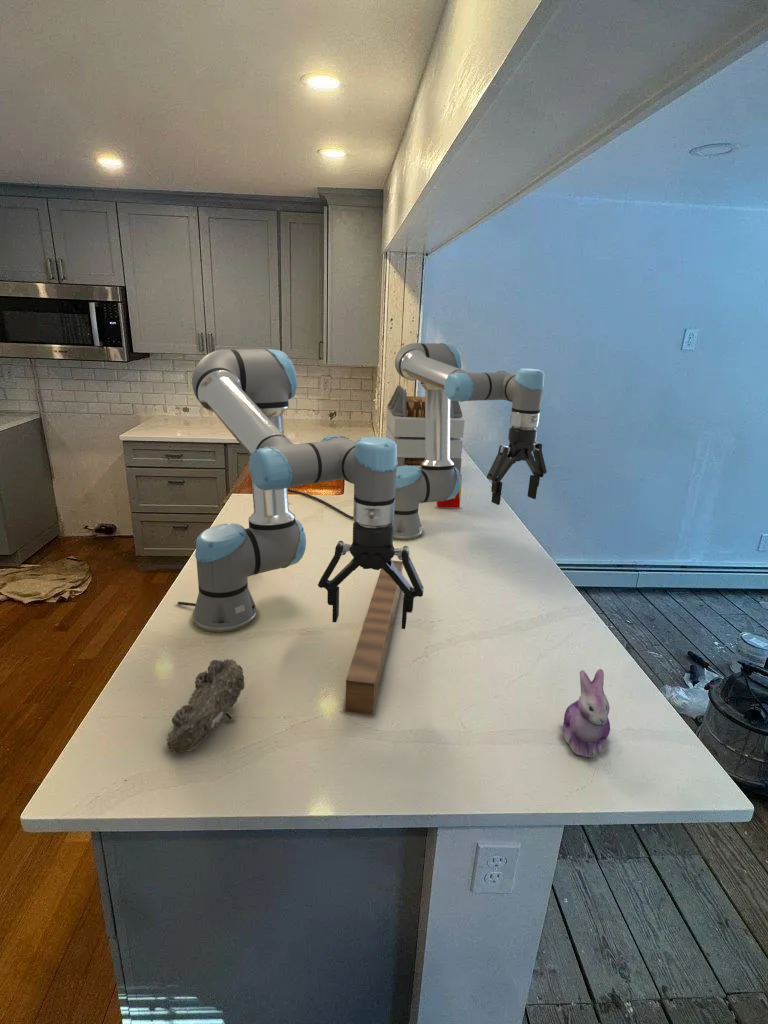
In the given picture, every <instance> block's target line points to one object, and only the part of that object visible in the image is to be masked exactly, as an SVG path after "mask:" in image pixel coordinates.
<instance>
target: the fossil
mask: <svg viewBox="0 0 768 1024" xmlns="http://www.w3.org/2000/svg"><path fill="white" fill-rule="evenodd" d="M243 670H244V669H243V667H242V665H240V664H237V662H236V661H235V660H234V659H232V658H231V659H227V658H226V659H224V660H223V661H222V660H217V659H212V660H211V661H210V663H209V665H208V666H207V671H201V672H199V673H198V674H197V675H196V676H195V680H194V684H195V685H194V687H195V689H194V690H193V693H192V694H191V697H190V698H189V700H188V704H184V705H182V706H181V707H180V709H177V710H176V711H175V713H174V715H173V716H172V718H171V723H172V724H173V727H172V730H171V731H170V732H168V734H167V738H166V741H167V742H166V745H167V749H168V750H169V751H173V752H174V753H176V754H178V753H182V752H188V751H189V752H192V751H193V750H195V748H196V747H197V746H199V744H200V743H201V742H203V741H204V740H205V739H206V738H207V737H208V736H209V735H210V734H211V733H212V732H214V730H215V729H217V727H218V726H219V724H220V722H221V721H222V720H223V719H224V718H225V716H226V717H227V719H229V720H233V717H232V715H230V714H229V710H230V709H231V708H234V706H235V704H236V703H237V702H238V699H239V697H240V695H241V693H242V691H243V690H245V689H244V688H245V675H244V671H243Z"/></svg>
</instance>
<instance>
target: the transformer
mask: <svg viewBox="0 0 768 1024" xmlns="http://www.w3.org/2000/svg"><path fill="white" fill-rule="evenodd" d="M407 394H408V393H407V390H406V389H404V388H403V387H402V385H399V384H398V385H397V386H396V388H395V390H394V392H393V394H392V395H391V398H390V400H389V402H388V404H387V405H386V413H385V414H386V415H385V423H386V428H385V438H389V439H391V440H393V441H394V442H395V443H396V445H397V462H398V465H397V467H399V466H406V465H407V466H417V467H421V463H422V462H423V461H424V460H425V396H415V395H414V396H413V395H412V396H411V395H407ZM464 429H465V419H464V418H463V411H462V408H461V405H460V402H459V401H451V400H450V460H451V461H452V462H453V463H454V467H455V468H456V469H457V470H458V471H459V475H462V474H461V472H462V461H463V460H462V453H463V442H464V441H463V440H462V439H463V438H464V431H465V430H464Z"/></svg>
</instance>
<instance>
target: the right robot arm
mask: <svg viewBox="0 0 768 1024" xmlns="http://www.w3.org/2000/svg"><path fill="white" fill-rule="evenodd" d="M394 367H395V370H396V372H397V374H399V376H400V377H402V378H404V379H405V380H408V381H412V382H414V381H418V382H420V386H421V387H422V388H423V389H424V397H425V460H424V461H423V462H422V463H421V466H407V465H404V466H399V467H397V472H396V488H395V509H394V521H393V522H392V523H393V525H394V527H393V540H395V541H410V540H415V539H418V538H420V537H421V536H422V535H423V530H424V528H423V525H422V524H421V518H420V515H419V507H420V506H419V505H420V504H425V503H426V504H427V503H434V502H437V501H445V500H450V499H452V498H454V497H455V496H456V495H457V494H458V492H459V489H460V485H461V486H462V480H461V478H462V476H461V477H460V475H461V474H460V475H459V471H458V470H457V469H456V468H455V467H454V463H453V462H452V461H451V460H450V400H451V401H458V402H459V403H461V402H473V401H474V402H475V401H507V402H511V403H512V405H511V412H510V419H509V425H510V427H509V428H508V435H507V439H508V441H509V443H508V445H503V444H500V445H499V447H498V452H497V454H496V457H495V458H494V460H493V463H492V464H491V466H490V469H489V471H488V473H487V475H486V479H488V480H490V481H491V488H490V489H491V491H490V492H491V493H492V494H491V503H492V504H495V505H497V506H500V505H501V497H502V489H503V482H502V480H503V478H504V477H505V475H506V474H507V473H508V472H509V470H510V469H511V467H512V466H513V465H514V464H516V463H517V462H521V461H523V462H524V461H525V463H526V464H527V466H528V468H529V470H530V472H531V473H532V474H530V475H529V481H528V489H527V495H526V496H527V497H528V498H530V499H532V500H536V499H537V493H538V487H540V486H539V485H540V481H541V480H540V479H541V478H543V477H544V475H546V474H547V472H548V471H547V467H546V462H545V459H544V454H543V444H542V443H540V442H537V436H538V429H537V428H538V426H539V422H540V421H539V420H540V414H541V405H542V400H543V395H544V394H543V393H544V389H545V372H544V371H543V370H541V369H536V368H526V367H525V368H524V367H523V368H518V369H517V370H516V372H515V373H511V372H508V371H506V370H505V371H504V370H495V371H491V372H470V371H468V370H464V369H463V360H462V356H461V353H460V350H459V349H458V348H457V347H456V346H455V345H453V344H450V343H445V342H439V343H435V342H434V343H433V342H432V343H429V342H423V343H422V342H412V343H408V344H406V345H403V346H402V347H401V348H400V349H398V351H397V352H396V355H395V359H394ZM287 490H288V492H289V493H293V494H297V495H301V496H304V497H307V498H311V499H313V500H315V501H317V502H320V503H321V504H324V505H325V506H327V507H329V508H331V509H333V510H334V511H336V512H338V513H339V514H341V515H343V516H344V517H346V518H348V519H350V520H354V519H353V515H349V514H348V513H346V512H344V511H343V510H341V509H340V508H337V507H336V506H334V505H333V504H330V503H328V502H327V501H325V500H323V499H322V498H319V497H317V496H314V495H311V494H309V493H305V492H302V491H298V490H295V489H290V488H287Z"/></svg>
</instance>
